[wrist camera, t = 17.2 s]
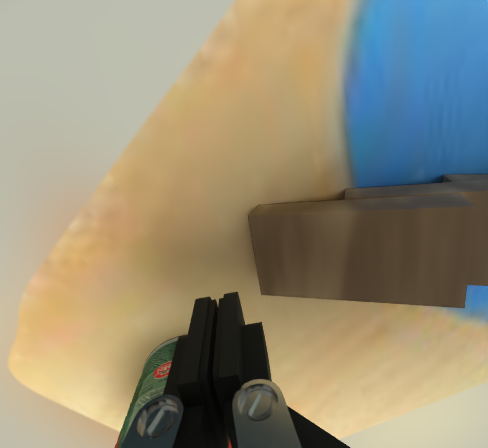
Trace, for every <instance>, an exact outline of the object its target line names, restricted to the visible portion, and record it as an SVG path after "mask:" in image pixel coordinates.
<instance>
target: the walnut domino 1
mask: <svg viewBox="0 0 488 448" xmlns="http://www.w3.org/2000/svg"><path fill="white" fill-rule="evenodd" d="M474 213H475V206H474V205H473V204H472V203H471V202H470V201H469V200H467V199H466V198H465V197H464V196H463V195H462V194H460V193H452V194H435V195H418V196H401V197H384V198H367V199H351V200H334V201H317V202H300V203H283V204H266V205H258V206H257V207H256V208H255V210H254V211H253V212H252V213H251V214H250V215H249V216H248V219H249V225H250V231H251V237H252V243H253V249H254V255H255V260H256V266H257V272H258V278H259V284H260V290H261V295H272V296H287V297H303V298H318V299H333V300H348V301H364V302H379V303H394V304H410V305H425V306H440V307H455V308H465V299H466V290H467V280H468V270H469V261H470V251H471V241H472V232H473V222H474Z"/></svg>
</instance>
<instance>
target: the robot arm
mask: <svg viewBox="0 0 488 448" xmlns="http://www.w3.org/2000/svg"><path fill="white" fill-rule="evenodd" d="M229 440H230V443H231V447H232V448H350V447H349V446H347V445H346V444H344V443H343V442H341V441H340V440H338V439H337V438H335V437H334V436H332V435H331V434H329V433H328V432H326V431H325V430H323V429H322V428H320V427H318V426H317V425H315V424H314V423H312V422H311V421H309V420H308V419H306V418H305V417H303V416H302V415H300V414H299V413H297V412H296V411H294V410H293V409H291V408H290V407H288V406H287V405H286V402H285V399H284V396H283V394H282V392H281V390H280V388H279V387H278V386H277V385H276V384H275V383H273V382H272V380H271V373H270V366H269V359H268V353H267V347H266V341H265V336H264V331H263V326H262V322H259V323H253V324H247V325H245V322H244V317H243V313H242V308H241V304H240V299H239V295H238V292H233V293H227V294H224V298H220V299H219V306H218V305H217V302H216V300H215V299H214V300H211V298H210V297H205V298H199V299H196V300H195V305H194V309H193V314H192V318H191V323H190V327H189V332H188V335H184V336H180V337H178V340H177V343H176V347H175V351H174V355H173V358H172V362H171V366H170V370H169V374H168V377H167V381H166V385H165V389H164V392H163V395H161V396H158V397H156V398H153V399H152V400H150V401H149V402H147V403H146V404H145V405H144V406H143V407H142V408H141V409H140V410H139V411H138V413H137V414H136V416H135V418H134V420H133V422H132V424H131V426H130V428H129V430H128V432H127V434H126V436H125V438H124V440H123V443H122V445H121V447H120V448H229Z"/></svg>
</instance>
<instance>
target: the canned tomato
mask: <svg viewBox="0 0 488 448" xmlns="http://www.w3.org/2000/svg"><path fill="white" fill-rule="evenodd" d="M177 340H178V337H176V338H173V339H171V340H168V341H166V342H164V343H163V344H161V345H159V346H158V347H157V348H156V349H155V350H154V351H153V352H152V353H151V354H150V355H149V357H148V359H147V360H146V362H145V365H144V368H143V373H142V376H141V378H140V380H139V383H138V385H137V388H136V391H135V393H134V396H133V399H132V403H131V404H130V407H129V410H128V413H127V416H126V418H125V421H124V424H123V427H122V429H121V432H120V435H119V437H118V441H117V443H116V445H115V448H120V447H121V445H122V443H123V440H124V438H125V436H126V434H127V432H128V430H129V428H130V426H131V424H132V422H133V420H134V418H135V416H136V414H137V413H138V411H139V410H140V409H141V408H142V407H143V406H144V405H145V404H146V403H147V402H149V401H150V400H152V399H153V398H156V397H158V396H161V395H163V392H164V389H165V385H166V381H167V377H168V374H169V370H170V366H171V362H172V358H173V355H174V351H175V347H176V343H177ZM229 448H232V447H231V443H230V440H229Z"/></svg>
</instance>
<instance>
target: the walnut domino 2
mask: <svg viewBox="0 0 488 448" xmlns="http://www.w3.org/2000/svg"><path fill="white" fill-rule="evenodd" d="M452 193H460V194H462V195H463V196H464V197H465V198H466V199H467V200H469V201H470V202H471V203H472V204H473V205H474V206H475V213H474V222H473V232H472V241H471V251H470V261H469V270H468V280H467V285H482V286H488V180H475V181H460V182H444V183H429V184H414V185H398V186H383V187H367V188H352V189H346V192H345V200H351V199H367V198H384V197H401V196H418V195H435V194H452Z"/></svg>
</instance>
